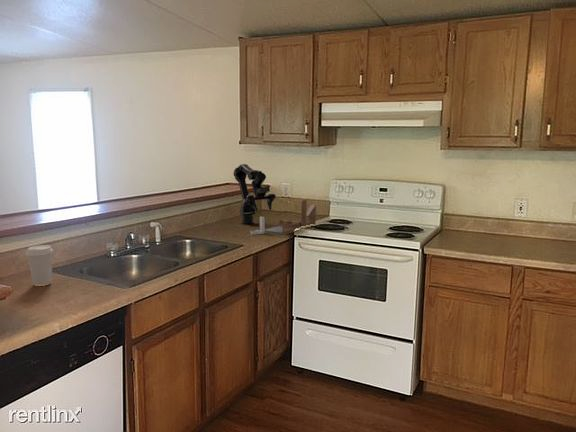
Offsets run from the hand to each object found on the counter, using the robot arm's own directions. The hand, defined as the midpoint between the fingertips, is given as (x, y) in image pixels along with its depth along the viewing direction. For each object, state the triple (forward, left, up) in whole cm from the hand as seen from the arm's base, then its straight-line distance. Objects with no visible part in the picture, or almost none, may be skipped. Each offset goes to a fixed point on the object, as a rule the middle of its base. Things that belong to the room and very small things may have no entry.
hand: (263, 210), depth 295 cm
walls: (+9, +7, -13) cm, 17 cm away
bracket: (+2, -9, -13) cm, 16 cm away
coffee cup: (-6, -136, -13) cm, 137 cm away
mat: (+9, +7, -13) cm, 17 cm away
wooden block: (+16, +25, -13) cm, 32 cm away
